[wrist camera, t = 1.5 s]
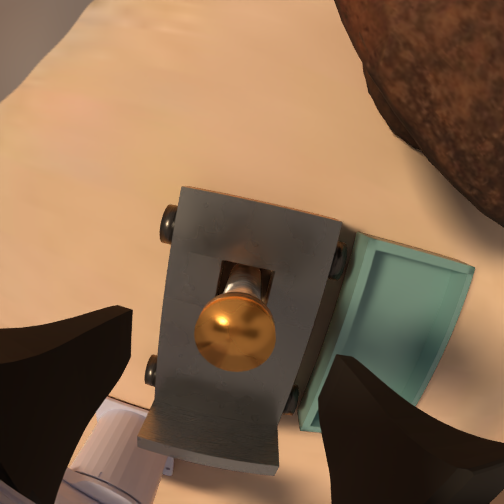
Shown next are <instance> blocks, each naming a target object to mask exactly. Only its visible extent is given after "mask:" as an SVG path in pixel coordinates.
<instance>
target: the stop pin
mask: <svg viewBox="0 0 504 504" xmlns="http://www.w3.org/2000/svg"><path fill="white" fill-rule="evenodd" d="M194 339H195V343H196V346H197V348H198V350H199V352H200V354H201V355H202V356H203V357H204V358H205V359H206V360H207V361H208V362H209V363H211V364H212V365H214V366H215V367H217V368H220V369H222V370H226V371H232V372H242V371H248V370H251V369H254V368H256V367H258V366H260V365H261V364H263V363H264V362H265V361H266V360H267V359H268V358H269V357H270V355H271V353H272V352H273V349H274V347H275V342H276V333H275V322H274V318H273V315H272V313H271V311H270V309H269V308H268V307H267V305H266V304H265V303H264V302H263V301H261V272H260V269H259V268H258V267H254V266H249V265H245V264H240V263H237V264H236V265H235V266H234V267H233V268H232V271H231V273H230V276H229V279H228V282H227V284H226V287H225V290H224V293H223V294H220V295H218V296H216V297H214V298H213V299H211V300H210V301H209V302H208V303H207V304H206V305H205V306H204V308H203V310H202V312H201V314H200V316H199V318H198V320H197V322H196V325H195V329H194Z"/></svg>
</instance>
